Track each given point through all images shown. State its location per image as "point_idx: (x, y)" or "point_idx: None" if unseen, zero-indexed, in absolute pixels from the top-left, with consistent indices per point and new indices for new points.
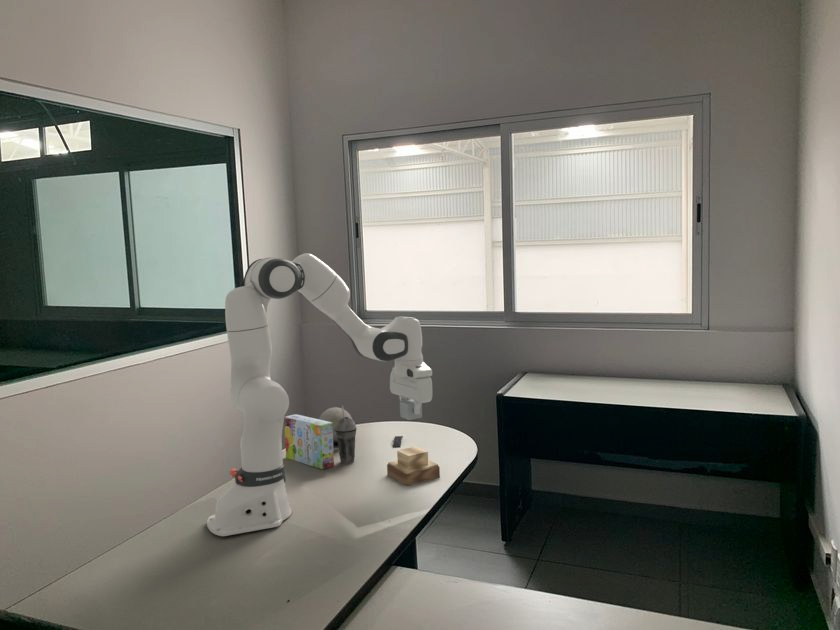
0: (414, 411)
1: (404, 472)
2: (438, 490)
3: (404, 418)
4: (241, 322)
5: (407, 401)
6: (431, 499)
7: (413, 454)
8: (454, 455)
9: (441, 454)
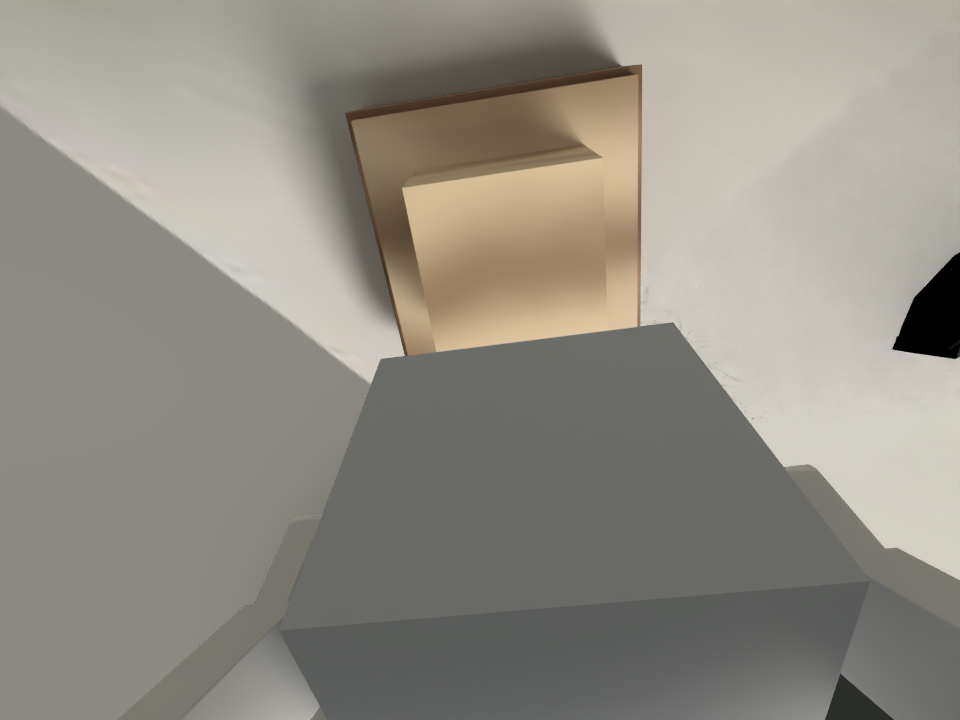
0: (292, 550)
1: (382, 115)
2: (223, 248)
3: (519, 342)
4: None
5: (639, 711)
6: (93, 154)
7: (422, 241)
8: None
9: None
